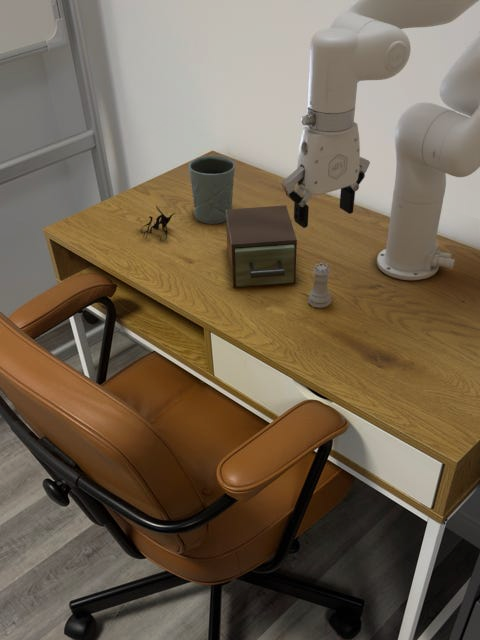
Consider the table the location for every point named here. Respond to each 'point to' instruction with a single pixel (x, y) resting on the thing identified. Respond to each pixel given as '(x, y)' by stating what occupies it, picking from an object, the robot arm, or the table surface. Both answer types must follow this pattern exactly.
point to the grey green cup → (212, 187)
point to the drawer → (264, 265)
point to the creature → (163, 221)
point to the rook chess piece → (320, 287)
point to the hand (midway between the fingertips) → (323, 217)
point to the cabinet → (258, 231)
